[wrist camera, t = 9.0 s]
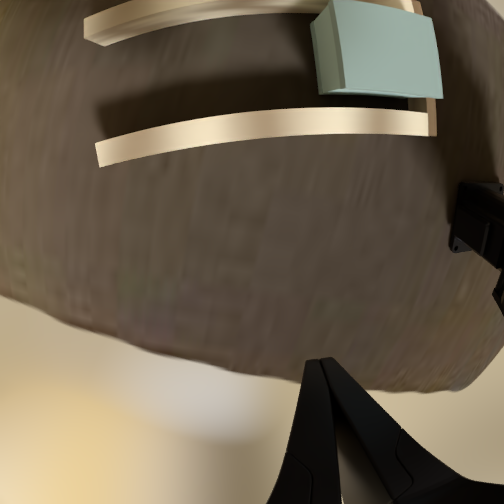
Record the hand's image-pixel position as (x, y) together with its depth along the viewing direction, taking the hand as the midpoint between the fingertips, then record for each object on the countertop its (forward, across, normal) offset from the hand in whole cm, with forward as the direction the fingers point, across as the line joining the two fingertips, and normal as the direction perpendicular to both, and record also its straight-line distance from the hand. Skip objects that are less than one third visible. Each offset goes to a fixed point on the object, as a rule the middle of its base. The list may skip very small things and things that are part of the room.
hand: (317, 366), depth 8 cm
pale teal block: (+13, -6, -11) cm, 18 cm away
